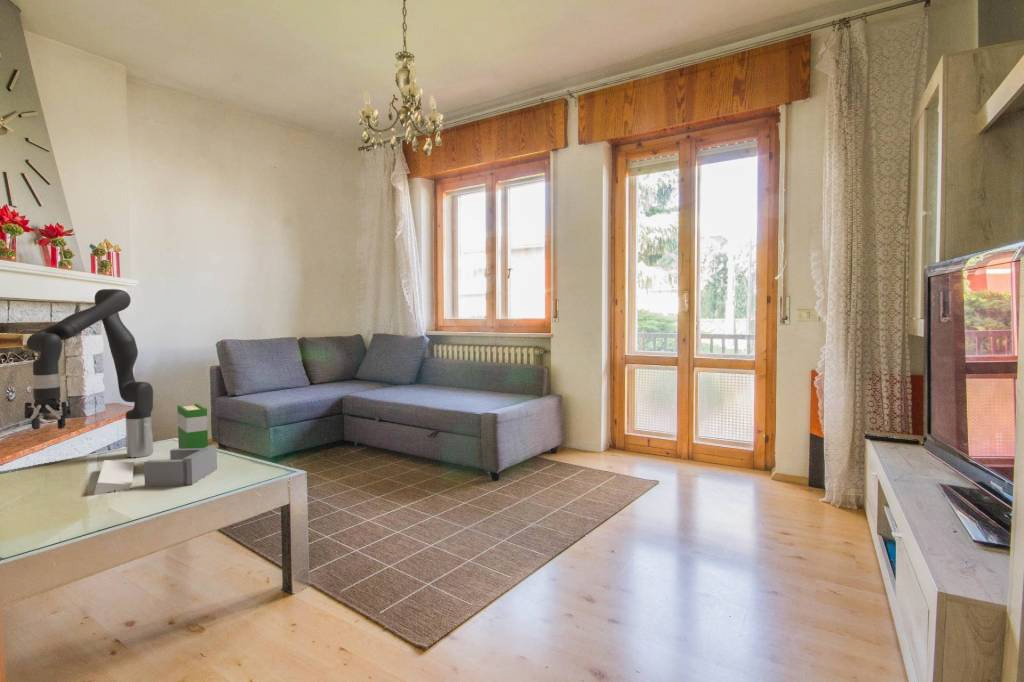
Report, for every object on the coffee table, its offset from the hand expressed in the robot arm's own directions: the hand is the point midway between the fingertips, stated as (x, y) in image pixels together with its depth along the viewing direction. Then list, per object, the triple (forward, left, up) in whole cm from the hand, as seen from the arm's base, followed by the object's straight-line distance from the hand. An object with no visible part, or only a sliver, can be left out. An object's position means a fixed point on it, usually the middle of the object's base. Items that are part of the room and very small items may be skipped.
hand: (48, 428), depth 189 cm
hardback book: (-21, +40, -20) cm, 50 cm away
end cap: (0, +46, -20) cm, 51 cm away
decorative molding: (0, +23, -21) cm, 31 cm away
